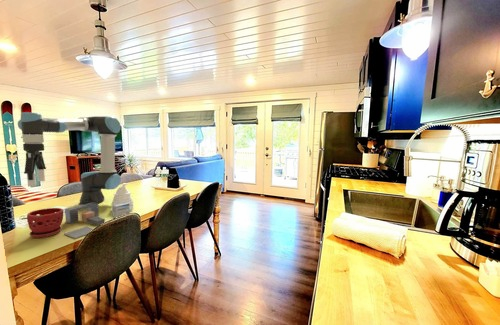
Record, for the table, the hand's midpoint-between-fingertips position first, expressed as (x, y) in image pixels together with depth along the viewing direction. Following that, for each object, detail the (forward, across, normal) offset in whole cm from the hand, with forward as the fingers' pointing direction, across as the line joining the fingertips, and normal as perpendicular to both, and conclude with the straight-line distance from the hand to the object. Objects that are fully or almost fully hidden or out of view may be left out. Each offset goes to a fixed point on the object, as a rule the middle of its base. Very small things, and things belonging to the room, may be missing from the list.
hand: (37, 183), depth 110 cm
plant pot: (+25, +10, +5) cm, 27 cm away
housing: (+25, -7, +17) cm, 31 cm away
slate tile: (+25, +16, +20) cm, 35 cm away
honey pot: (+25, -16, +38) cm, 48 cm away
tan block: (+25, -2, +20) cm, 32 cm away
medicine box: (+25, +2, +37) cm, 45 cm away
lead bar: (+25, +4, +24) cm, 35 cm away
